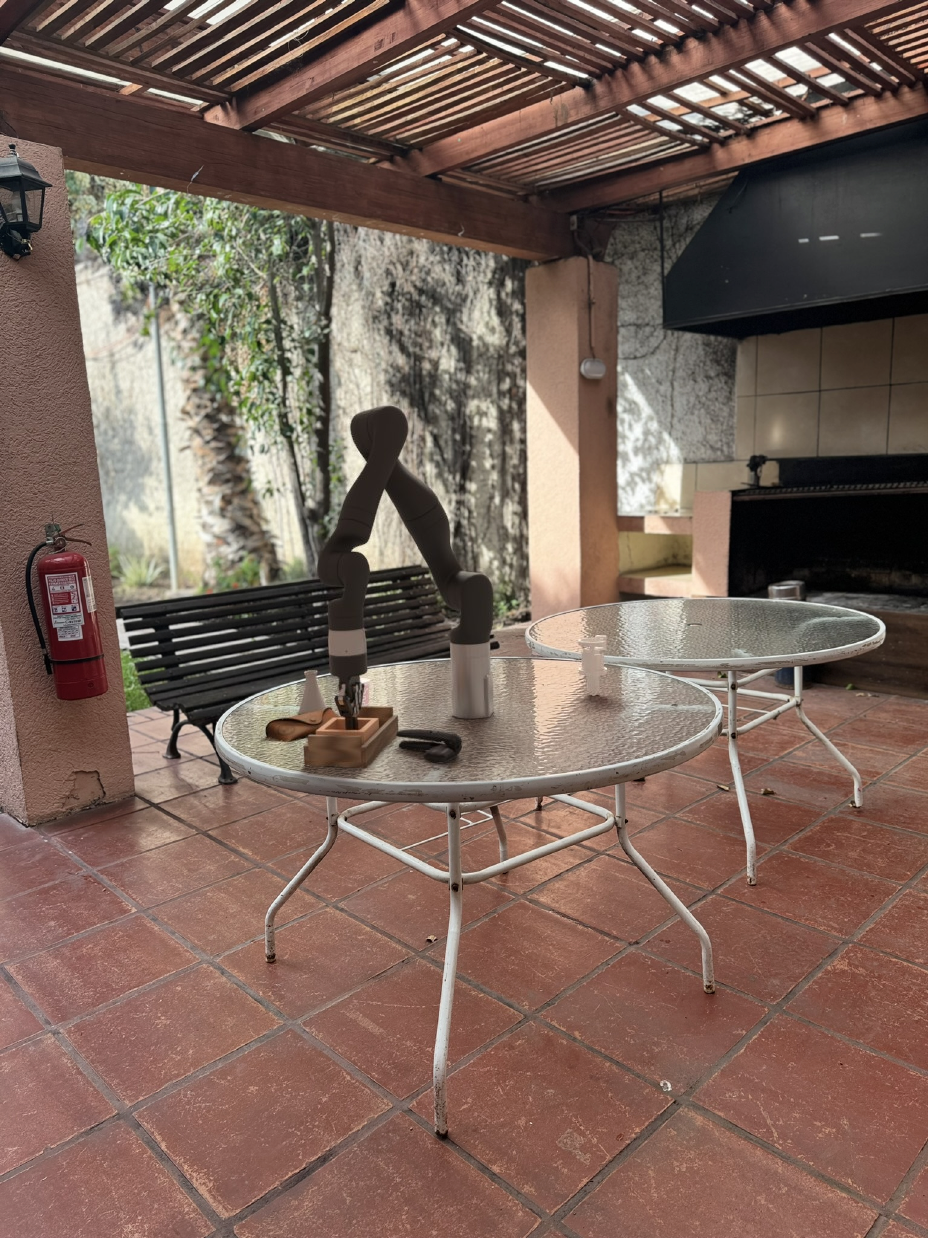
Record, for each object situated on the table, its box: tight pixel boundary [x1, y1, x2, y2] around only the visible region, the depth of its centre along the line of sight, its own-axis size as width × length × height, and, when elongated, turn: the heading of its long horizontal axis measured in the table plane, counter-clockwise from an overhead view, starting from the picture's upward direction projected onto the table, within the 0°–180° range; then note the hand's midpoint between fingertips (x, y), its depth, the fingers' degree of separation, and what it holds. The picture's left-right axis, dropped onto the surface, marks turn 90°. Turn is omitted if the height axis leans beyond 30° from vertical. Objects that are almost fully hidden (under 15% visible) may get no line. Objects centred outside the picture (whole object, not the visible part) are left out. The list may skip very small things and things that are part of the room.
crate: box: [316, 718, 379, 745], centre depth 180 cm, size 10×10×5 cm
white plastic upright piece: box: [577, 634, 608, 692], centre depth 222 cm, size 7×7×15 cm
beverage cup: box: [360, 677, 371, 706], centre depth 207 cm, size 6×6×14 cm
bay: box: [303, 705, 400, 769], centre depth 183 cm, size 12×24×6 cm, turn 169°
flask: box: [297, 670, 328, 715], centre depth 215 cm, size 7×7×10 cm
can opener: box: [396, 728, 463, 764], centre depth 178 cm, size 18×7×6 cm, turn 44°
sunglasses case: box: [265, 706, 340, 743], centre depth 199 cm, size 18×7×7 cm
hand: (352, 734), depth 182 cm, fingers closed
